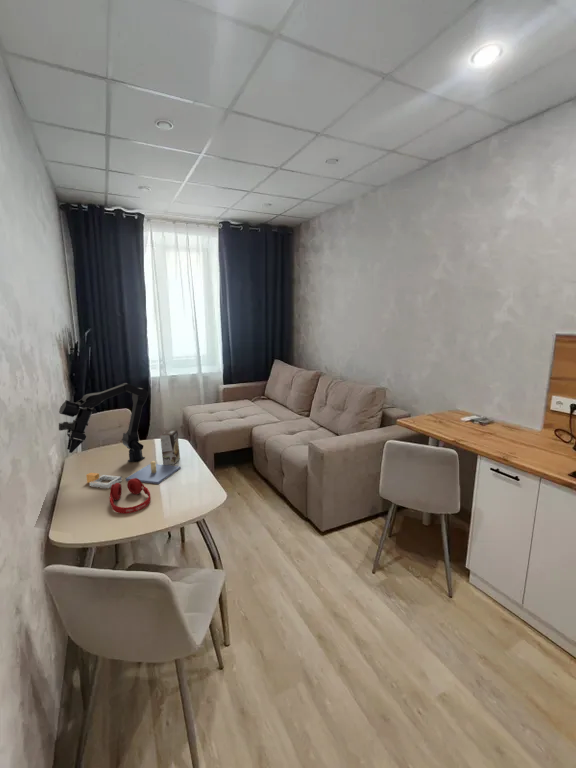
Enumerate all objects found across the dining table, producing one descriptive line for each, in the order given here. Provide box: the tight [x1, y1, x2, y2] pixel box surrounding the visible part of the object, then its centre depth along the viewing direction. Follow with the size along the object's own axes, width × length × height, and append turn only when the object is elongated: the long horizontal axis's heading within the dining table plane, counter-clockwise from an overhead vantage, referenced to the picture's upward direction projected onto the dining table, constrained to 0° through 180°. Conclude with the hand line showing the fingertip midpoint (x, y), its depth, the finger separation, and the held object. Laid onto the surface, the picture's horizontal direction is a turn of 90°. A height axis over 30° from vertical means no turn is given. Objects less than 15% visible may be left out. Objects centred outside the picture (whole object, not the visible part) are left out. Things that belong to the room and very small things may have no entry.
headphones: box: [108, 478, 152, 514], centre depth 151 cm, size 15×7×20 cm
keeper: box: [125, 460, 181, 485], centre depth 177 cm, size 18×18×7 cm
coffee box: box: [159, 429, 181, 466], centre depth 192 cm, size 9×6×16 cm
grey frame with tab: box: [86, 472, 122, 489], centre depth 170 cm, size 15×8×4 cm, turn 73°
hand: (69, 451), depth 173 cm, fingers open, 9 cm apart
